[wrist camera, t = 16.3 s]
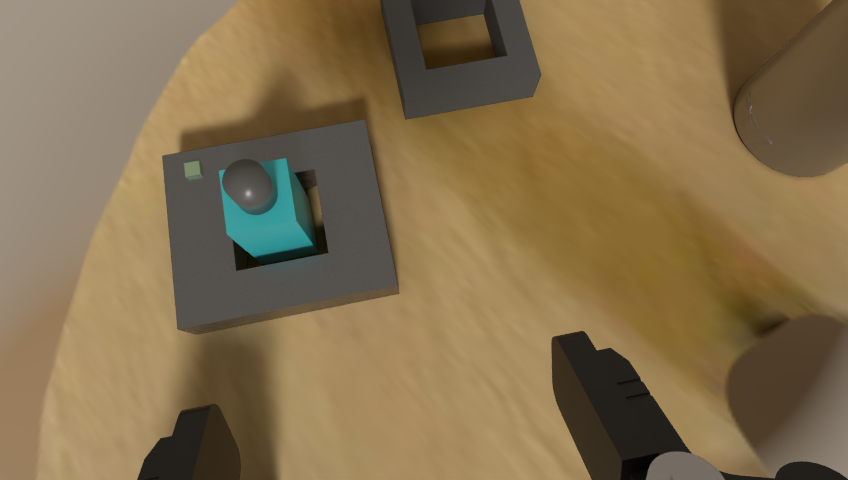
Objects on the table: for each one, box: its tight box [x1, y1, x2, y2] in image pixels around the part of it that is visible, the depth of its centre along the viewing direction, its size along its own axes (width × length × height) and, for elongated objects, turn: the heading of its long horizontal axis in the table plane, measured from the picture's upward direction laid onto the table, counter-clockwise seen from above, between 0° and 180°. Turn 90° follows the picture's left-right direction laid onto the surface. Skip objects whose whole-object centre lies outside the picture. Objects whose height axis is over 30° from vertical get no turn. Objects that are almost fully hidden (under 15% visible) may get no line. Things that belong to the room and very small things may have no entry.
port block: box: [162, 119, 399, 334], centre depth 38 cm, size 14×12×3 cm
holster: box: [380, 0, 541, 119], centre depth 42 cm, size 10×10×3 cm
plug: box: [219, 158, 318, 264], centre depth 35 cm, size 4×4×10 cm
